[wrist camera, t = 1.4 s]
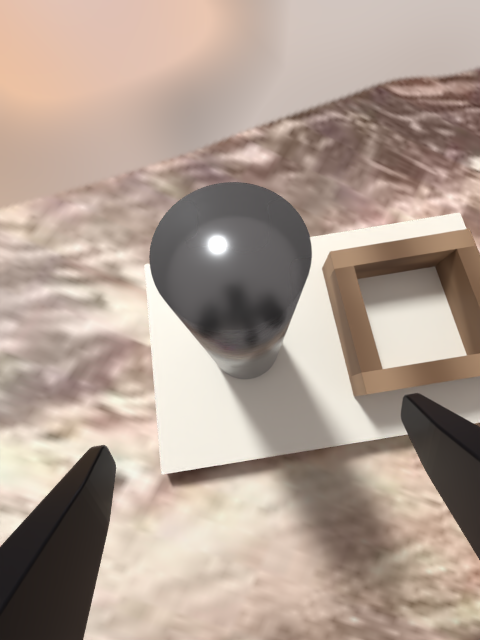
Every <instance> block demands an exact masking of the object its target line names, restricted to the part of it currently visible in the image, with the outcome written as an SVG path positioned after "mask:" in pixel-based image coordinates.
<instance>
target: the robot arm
mask: <svg viewBox="0 0 480 640" xmlns="http://www.w3.org/2000/svg"><path fill="white" fill-rule="evenodd" d="M401 420H402V423H403V425H404V427H405V429H406V431H407V433H408V435H409V438H410V440H411V442H412V444H413V446H414V448H415V450H416V452H417V454H418V456H419V459H420V461H421V463H422V465H423V467H424V469H425V471H426V472H427V474H428V476H429V477H430V479H431V481H432V482H433V484H434V486H435V487H436V489H437V491H438V492H439V494H440V496H441V497H442V499H443V501H444V502H445V504H446V505H447V507H448V509H449V510H450V512H451V514H452V515H453V517H454V519H455V520H456V522H457V524H458V525H459V527H460V528H461V530H462V532H463V533H464V535H465V537H466V538H467V540H468V542H469V543H470V545H471V546H472V548H473V550H474V551H475V553H476V555H477V556H478V558H479V560H480V427H479V426H477V425H475V424H474V423H472V422H470V421H468V420H467V419H465V418H463V417H461V416H459V415H458V414H456V413H454V412H452V411H450V410H449V409H447V408H445V407H443V406H441V405H440V404H438V403H436V402H434V401H432V400H431V399H429V398H427V397H425V396H424V395H422V394H420V393H412V394H406V395H404V397H403V400H402V407H401ZM115 474H116V464H115V461H114V459H113V457H112V455H111V453H110V451H109V449H108V448H107V446H105V445H101V446H95V447H91V448H90V449H89V450H88V451H87V452H86V453H85V454H84V455H83V456H82V458H81V459H80V460H79V461H78V462H77V463H76V464H75V465H74V466H73V467H72V469H71V470H70V471H69V472H68V473H67V474H66V475H65V476H64V477H63V478H62V480H61V481H60V482H59V483H58V484H57V485H56V486H55V487H54V488H53V489H52V491H51V492H50V493H49V494H48V495H47V496H46V497H45V498H44V499H43V500H42V501H41V503H40V504H39V505H38V506H37V507H36V508H35V509H34V510H33V511H32V512H31V514H30V515H29V516H28V517H27V518H26V519H25V520H24V521H23V522H22V523H21V525H20V526H19V527H18V528H17V529H16V530H15V531H14V532H13V533H12V534H11V536H10V537H9V538H8V539H7V540H6V541H5V542H4V543H3V544H2V545H1V547H0V640H83V638H84V633H85V629H86V624H87V620H88V616H89V611H90V607H91V602H92V598H93V594H94V589H95V585H96V580H97V576H98V571H99V567H100V563H101V558H102V554H103V549H104V545H105V541H106V536H107V532H108V527H109V521H110V515H111V506H112V498H113V490H114V482H115Z"/></svg>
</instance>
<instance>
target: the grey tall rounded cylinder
mask: <svg viewBox="0 0 480 640" xmlns="http://www.w3.org/2000/svg"><path fill="white" fill-rule="evenodd" d="M149 258H150V269H151V274H152V278H153V281H154V284H155V286H156V288H157V290H158V292H159V294H160V295H161V296H162V298H163V299H164V301H165V302H166V303H167V304H168V306H169V307H170V308H171V309H172V310H173V312H174V313H175V314H176V315H177V316H178V318H179V319H180V320H181V321H182V323H183V324H184V325H185V326H186V327H187V329H188V330H189V331H190V332H191V333H192V335H193V336H194V337H195V338H196V339H197V341H198V342H199V343H200V344H201V345H202V347H203V348H204V349H205V350H206V352H207V353H208V354H209V355H210V356H211V358H212V359H213V360H214V361H215V362H216V364H217V365H218V366H219V367H220V368H221V369H222V370H223V371H224V372H225V373H226V374H228V375H230V376H232V377H235V378H238V379H252V378H256V377H258V376H261V375H262V374H264V373H265V372H267V371H268V370H269V369H270V368H271V367H272V365H273V364H274V362H275V360H276V358H277V355H278V353H279V350H280V348H281V345H282V342H283V340H284V337H285V335H286V332H287V329H288V327H289V324H290V322H291V319H292V316H293V314H294V311H295V309H296V306H297V303H298V301H299V298H300V296H301V293H302V290H303V288H304V285H305V283H306V280H307V277H308V275H309V271H310V267H311V260H312V246H311V240H310V236H309V233H308V230H307V227H306V225H305V223H304V221H303V219H302V218H301V216H300V215H299V214H298V212H297V211H296V210H295V209H294V208H293V206H292V205H291V204H290V203H289V202H287V201H286V200H285V199H284V198H282V197H281V196H279V195H278V194H276V193H274V192H272V191H270V190H268V189H266V188H263V187H260V186H257V185H253V184H248V183H239V182H228V183H219V184H214V185H210V186H206V187H203V188H201V189H198V190H196V191H194V192H192V193H190V194H188V195H187V196H185V197H184V198H182V199H181V200H179V201H178V202H177V203H176V204H175V205H173V206H172V207H171V209H170V210H169V211H168V212H167V213H166V214H165V215H164V217H163V218H162V220H161V221H160V223H159V225H158V227H157V228H156V231H155V233H154V236H153V238H152V243H151V247H150V257H149Z"/></svg>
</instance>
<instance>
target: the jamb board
mask: <svg viewBox="0 0 480 640" xmlns="http://www.w3.org/2000/svg"><path fill="white" fill-rule="evenodd" d="M463 229H466V227H465V224H464V222H463V219H462V217H461V214H460V213H454V214H448V215H442V216H436V217H430V218H424V219H418V220H412V221H406V222H400V223H394V224H388V225H381V226H375V227H369V228H363V229H357V230H351V231H345V232H339V233H333V234H327V235H321V236H315V237H310V240H311V246H312V260H311V267H310V271H309V275H308V277H307V280H306V283H305V285H304V288H303V290H302V293H301V296H300V298H299V301H298V303H297V306H296V309H295V311H294V314H293V316H292V319H291V322H290V324H289V327H288V329H287V332H286V335H285V337H284V340H283V342H282V345H281V348H280V350H279V353H278V355H277V358H276V360H275V362H274V364H273V365H272V367H271V368H270V369H269V370H268V371H267V372H265V373H264V374H262V375H261V376H258V377H256V378H252V379H238V378H235V377H232V376H230V375H228V374H226V373H225V372H224V371H223V370H222V369H221V368H220V367H219V366H218V365H217V364H216V362H215V361H214V360H213V359H212V358H211V356H210V355H209V354H208V353H207V352H206V350H205V349H204V348H203V347H202V345H201V344H200V343H199V342H198V341H197V339H196V338H195V337H194V336H193V335H192V333H191V332H190V331H189V330H188V329H187V327H186V326H185V325H184V324H183V323H182V321H181V320H180V319H179V318H178V316H177V315H176V314H175V313H174V312H173V310H172V309H171V308H170V307H169V306H168V304H167V303H166V302H165V301H164V299H163V298H162V296H161V295H160V294H159V292H158V290H157V288H156V286H155V284H154V281H153V278H152V274H151V269H150V264H145V278H146V290H147V303H148V315H149V327H150V340H151V352H152V365H153V377H154V389H155V402H156V414H157V427H158V439H159V451H160V464H161V475H162V474H168V473H174V472H180V471H186V470H193V469H199V468H205V467H211V466H217V465H223V464H229V463H235V462H242V461H248V460H254V459H260V458H266V457H272V456H278V455H285V454H291V453H297V452H303V451H309V450H315V449H321V448H327V447H334V446H340V445H346V444H352V443H358V442H364V441H370V440H376V439H383V438H389V437H395V436H401V435H407V434H408V433H407V431H406V429H405V427H404V425H403V423H402V420H401V407H402V400H403V397H404V395H406V394H412V393H420V394H422V395H424V396H425V397H427V398H429V399H431V400H432V401H434V402H436V403H438V404H440V405H441V406H443V407H445V408H447V409H449V410H450V411H452V412H454V413H456V414H458V415H459V416H461V417H463V418H465V419H467V420H468V421H470V422H472V423H474V424H475V423H480V376H477V377H471V378H465V379H459V380H453V381H447V382H440V383H434V384H428V385H422V386H416V387H410V388H404V389H398V390H391V391H385V392H379V393H373V394H367V395H360V396H354V395H353V391H352V387H351V383H350V379H349V375H348V371H347V367H346V363H345V359H344V355H343V351H342V347H341V343H340V339H339V335H338V331H337V327H336V323H335V319H334V315H333V311H332V307H331V303H330V299H329V295H328V291H327V287H326V283H325V279H324V275H323V271H322V267H323V265H324V263H325V261H326V259H327V256H328V254H329V252H330V251H336V250H342V249H348V248H354V247H360V246H366V245H372V244H378V243H384V242H391V241H397V240H403V239H409V238H415V237H421V236H427V235H433V234H439V233H445V232H451V231H457V230H463ZM358 283H359V287H360V290H361V294H362V297H363V301H364V304H365V308H366V311H367V315H368V319H369V322H370V326H371V329H372V333H373V336H374V340H375V344H376V347H377V351H378V354H379V358H380V361H381V365H382V368H383V369H387V368H393V367H399V366H405V365H411V364H418V363H424V362H430V361H436V360H442V359H448V358H454V357H460V356H466V355H467V354H466V352H465V349H464V346H463V343H462V340H461V338H460V335H459V332H458V329H457V326H456V324H455V321H454V318H453V315H452V312H451V310H450V307H449V304H448V301H447V298H446V296H445V293H444V290H443V287H442V285H441V282H440V279H439V276H438V273H437V271H436V268H435V267H429V268H422V269H416V270H410V271H404V272H398V273H392V274H386V275H380V276H374V277H368V278H362V279H358Z"/></svg>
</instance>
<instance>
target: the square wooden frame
mask: <svg viewBox="0 0 480 640" xmlns="http://www.w3.org/2000/svg"><path fill="white" fill-rule="evenodd" d="M429 267H435V268H436V271H437V273H438V276H439V279H440V282H441V285H442V287H443V290H444V293H445V296H446V298H447V301H448V304H449V307H450V310H451V312H452V315H453V318H454V321H455V324H456V326H457V329H458V332H459V335H460V338H461V340H462V343H463V346H464V349H465V352H466V354H467V355H466V356H460V357H454V358H448V359H442V360H436V361H430V362H424V363H418V364H411V365H405V366H399V367H393V368H387V369H383V368H382V365H381V361H380V358H379V354H378V351H377V347H376V344H375V340H374V336H373V333H372V329H371V326H370V322H369V319H368V315H367V311H366V308H365V304H364V301H363V297H362V294H361V290H360V287H359V283H358V279H362V278H368V277H374V276H380V275H386V274H392V273H398V272H404V271H410V270H416V269H422V268H429ZM322 271H323V275H324V279H325V283H326V287H327V291H328V295H329V299H330V303H331V307H332V311H333V315H334V319H335V323H336V327H337V331H338V335H339V339H340V343H341V347H342V351H343V355H344V359H345V363H346V367H347V371H348V375H349V379H350V383H351V387H352V391H353V395H354V396H360V395H367V394H373V393H379V392H385V391H391V390H398V389H404V388H410V387H416V386H422V385H428V384H434V383H440V382H447V381H453V380H459V379H465V378H471V377H477V376H480V253H479V251H478V249H477V246H476V244H475V241H474V239H473V236H472V234H471V231H470V229H463V230H457V231H451V232H445V233H439V234H433V235H427V236H421V237H415V238H409V239H403V240H397V241H391V242H384V243H378V244H372V245H366V246H360V247H354V248H348V249H342V250H336V251H330V252H329V254H328V256H327V259H326V261H325V263H324V265H323V267H322Z"/></svg>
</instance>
